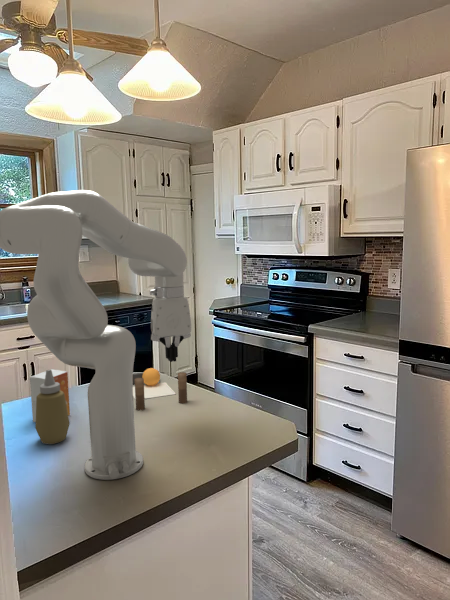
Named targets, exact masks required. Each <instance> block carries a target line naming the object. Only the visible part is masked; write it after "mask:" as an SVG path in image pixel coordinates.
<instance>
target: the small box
mask: <svg viewBox="0 0 450 600" xmlns="http://www.w3.org/2000/svg"><path fill="white" fill-rule="evenodd" d="M50 370H51V371H52V374H53V377H54V380H55V382H58V383H59V384H60V390H61V391H63V392H64V394H65V400H66V405H67V411H68V417H69V416H71V412H70V411H71V409H70V395H69V394H70V393H69V378H68V377H69V374H68V373H69V372H68V371H66V370H60V369H53V368H51V369H50ZM45 376H46V371H43V372H39V373H37V374H35V375H31V376H29V384H30V385H29V386H30V388H29V389H30V398H31V401H30V402H31V412H32V413H31V415H32V422H33V423H36V397H37V395H38V394H39V393H41V392H40V385H42V384H44V382H45Z"/></svg>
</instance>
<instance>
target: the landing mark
mask: <svg viewBox="0 0 450 600" xmlns="http://www.w3.org/2000/svg"><path fill="white" fill-rule="evenodd" d="M173 395H174V396H176V392H175V391H174V390H173V389H172V388H171V387H170V386H169V385H168V383H167V382H166V381H165V382H164V381H163V382H158V383H157V384H156V385H154V386H148V385H146V384H144V399H145V400H146V399H147V400H148V399H155V398H162V397H166V396H167V397H168V396H173ZM133 400H135V401H136V399H135V386H133Z"/></svg>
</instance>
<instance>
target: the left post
mask: <svg viewBox="0 0 450 600" xmlns="http://www.w3.org/2000/svg"><path fill="white" fill-rule="evenodd" d="M144 385H145V383H144V379H143V378H136V379H135V385H134V387H135V399H136V400H135V399H134V400H135V410H136V411H143V410H145V407H146V405H145V400H146V399H144Z"/></svg>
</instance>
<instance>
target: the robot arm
mask: <svg viewBox="0 0 450 600" xmlns="http://www.w3.org/2000/svg"><path fill="white" fill-rule="evenodd" d="M83 237H85V238H87V239H88V240H90V241H91V242H93V243H94V244H96V245H97V246H98V247H100V248H102V249H103V250H105V251H106V252H107V253H109V254H110V255H113V256H119V257H121V258H126V259H127V258H128V261H127V262H128V263H127V264H128V267H129V269H130V270H131V272H132V273H134V274H135V275H137V276H139V277H154V288H152V289H149V295H150V296H154V298H153V299H152V303H151V304H152V305H151V314H150V316H151V317H150V331H151V334H150V340H151V341H153V342H160V343H161V344H162V345H164V346H165V347H164V349H165V359H167V361H169V363H172V362H177V358H178V357H179V354H178V353H179V349H178V347H179V346H180V344H181V342H183V340H186V339H189V338H191V332H192V320H191V319H192V318H191V310H190V306H189V305H190V304H189V300H188V297H186V296H185V289H184V283H185V282H184V272H185V270H186V269H187V266H188V265H187V264H188V261H187V260H188V259H187V255H186V253H185V251H184V249H183V247H182V246H181V245H180V244H179V243H178V242H177V241H176V240H174V239H173V238H172V237H171V236H169V235H168V234H166V233H164V232H161V231H159V230H156V229H154V228H151V227H148V226H146V225H144V224H141V223H138V222H136V221H132V220H131V219H130V218H129V217H127V215H125V214H124V213H123V212H121V211H120V210H119V209H118V208H117V207H115V206H114V205H113V204H112V203H110V201H108V200H107V199H106V198H105V197H104V196H102V195H101V194H100V193H97V192H95V191H93V190H87V189H78V190H67V191H64V190H63V191H55V192H49V193H46V194H42V195H40V196H36V197H34V198H30V199H28V200H24V201H21V202H19V203H16V204H13V205H10V206H9V205H8V206H6V207H4V208H2V210H0V249H1V250H3V251H4V252H7V253H9V254H14V255H38V256H37V261H36V267H35V271H34V275H33V288H34V292H35V293H36V295H35V296H34V297H32V299H31V300H30V302H29V303H28V307H27V314H26V316H27V323H28V325H29V328H30V329H31V332H32V333H33V335H34V336H35V337H37V339H38V340H39V341H40V342H41V343H42V344H43V345H44V346H45V347H46V348H47V349H48V350H49V351H50V352H51V353H52V354H53V355H54V356H55V358H57V359H58V360H59V361H60V362H62V363H63V364H65V365H66V366H67V365H68V366H71V367H77V368H78V367H79V368H87V369H91V370H95V371H94V372H95V374H94V375H93V377H92V379H91V380H90V383H89V385H88V388H87V404H88V406H87V407H88V421H89V423H88V424H89V439H90V452H91V453H90V454H91V456H90V457H89V458H88V459H87V460H86V461H85V463H84V472H85V473H86V475H87V476H89V477H91V478H93V479H96V480H100V481H101V480H103V481H104V480H105V481H110V480H118V479H123V478H126V477H128V476H132V475H134V474H135V473H136V472H138V471H139V470H140V469H141V468H142V467H143V465H144V455H143V454H142V453H141V452H139V451H138V450H136V449H137V448H136V429H135V409H134V406H135V404H134V397H133V387H134V385H133V372H134V364H135V363H134V362H135V358H136V357H135V356H136V347H137V345H136V343H137V342H136V339H135V337H134V334H132V332H131V331H130V330H128V329H127V328H125V327H122V326H118V325H113V324H108V323H109V322H108V321H109V319H108V318H109V317H108V313H107V311H106V309H105V307H104V305H103V303H102V302H101V300H100V299H99V298H98V297H97V295H96V293H95V292H94V291H93V290H92V288H91V287H90V286H89V284H88V283H87V281H86V280H85V279H84V277H83V275H82V274H81V272H80V271H81V270H80V268H79V257H80V251H81V245H82V240H83ZM170 338H172V341H171V339H170Z"/></svg>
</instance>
